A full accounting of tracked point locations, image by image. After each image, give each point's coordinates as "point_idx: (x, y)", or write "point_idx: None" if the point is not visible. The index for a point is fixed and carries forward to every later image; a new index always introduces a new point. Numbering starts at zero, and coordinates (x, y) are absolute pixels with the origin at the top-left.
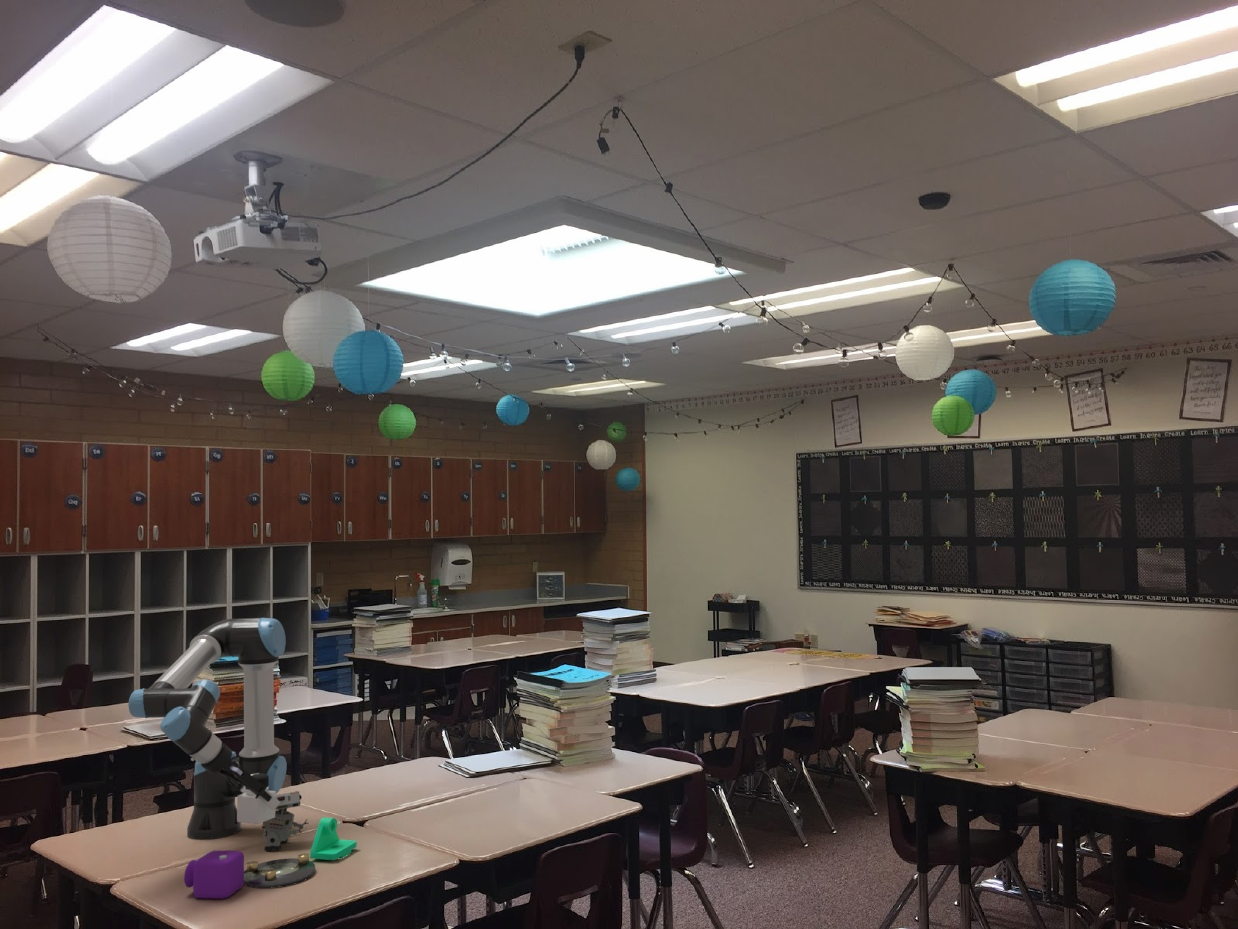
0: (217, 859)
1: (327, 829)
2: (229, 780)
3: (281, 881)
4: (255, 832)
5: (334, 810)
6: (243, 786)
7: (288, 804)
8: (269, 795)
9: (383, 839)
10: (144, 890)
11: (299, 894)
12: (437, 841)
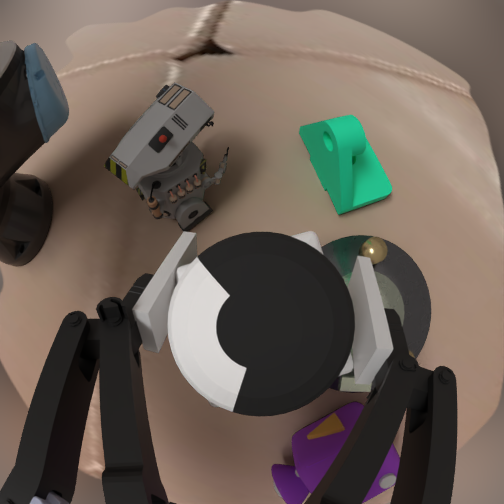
0: (380, 489)
1: (361, 152)
2: (87, 401)
3: (421, 349)
4: (76, 175)
5: (123, 52)
6: (145, 334)
7: (192, 137)
8: (402, 327)
9: (330, 74)
10: (191, 491)
11: (464, 344)
12: (402, 60)
